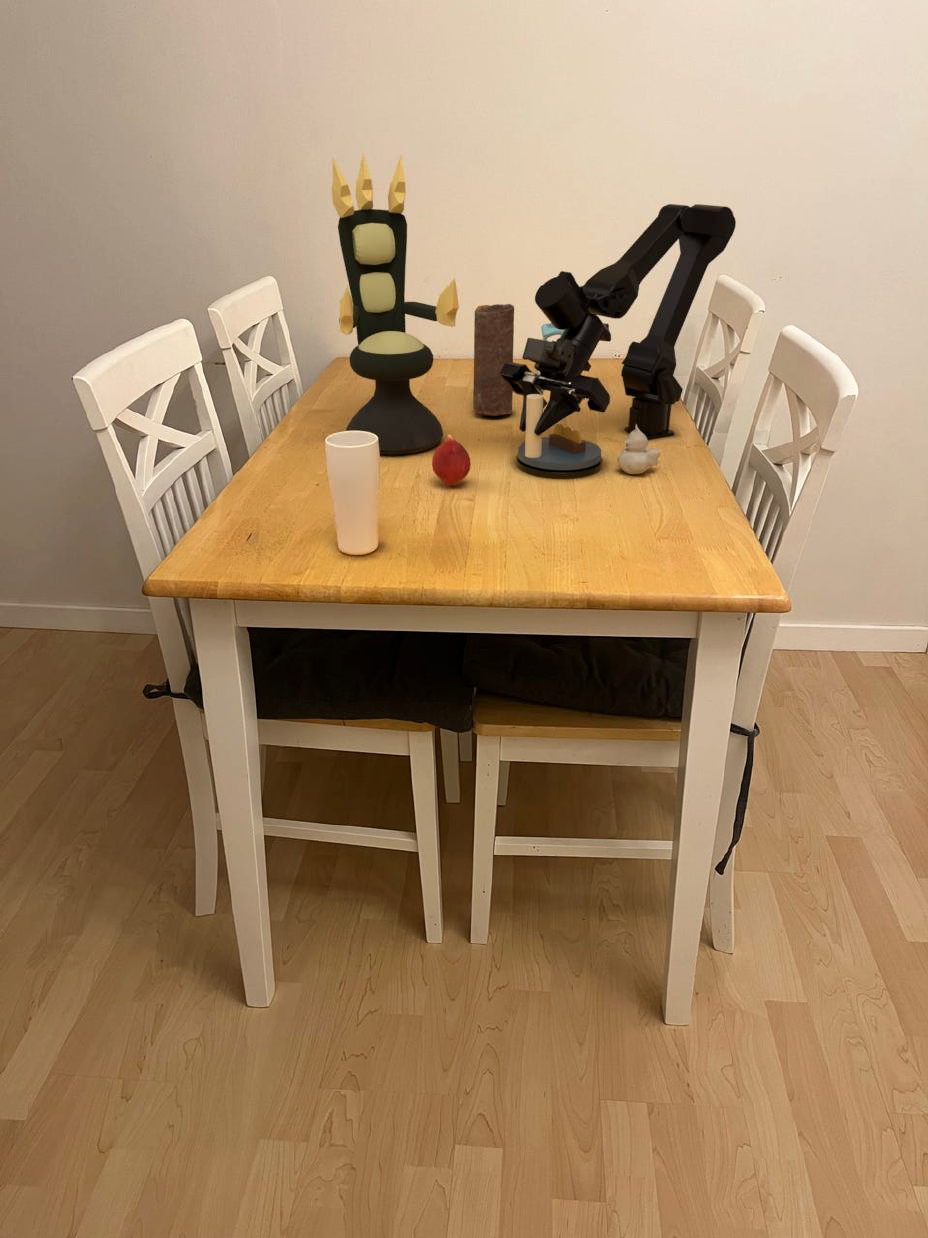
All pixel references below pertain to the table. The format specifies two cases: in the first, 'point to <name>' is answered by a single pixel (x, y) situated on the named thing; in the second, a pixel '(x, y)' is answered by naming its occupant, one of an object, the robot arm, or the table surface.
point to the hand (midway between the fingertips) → (528, 432)
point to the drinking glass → (354, 489)
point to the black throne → (385, 314)
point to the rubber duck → (637, 454)
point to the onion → (451, 462)
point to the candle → (492, 358)
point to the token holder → (554, 444)
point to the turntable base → (558, 471)
